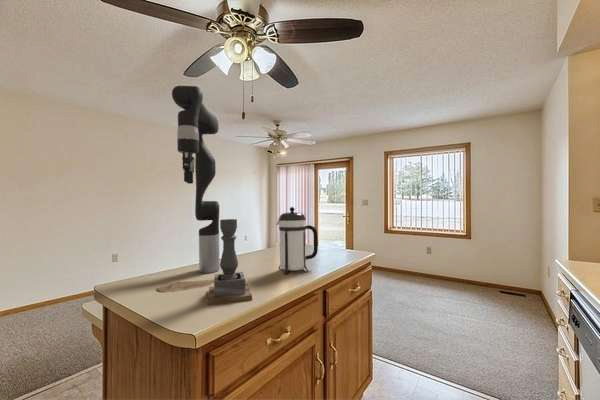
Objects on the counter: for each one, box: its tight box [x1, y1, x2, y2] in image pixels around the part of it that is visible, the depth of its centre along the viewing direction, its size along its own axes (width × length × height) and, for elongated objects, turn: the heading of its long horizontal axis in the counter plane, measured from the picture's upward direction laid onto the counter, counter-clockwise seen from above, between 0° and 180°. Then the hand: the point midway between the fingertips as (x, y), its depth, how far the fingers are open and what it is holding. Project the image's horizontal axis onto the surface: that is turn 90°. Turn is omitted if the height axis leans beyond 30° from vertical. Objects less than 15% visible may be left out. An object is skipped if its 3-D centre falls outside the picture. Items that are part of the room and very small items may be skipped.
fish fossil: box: [156, 279, 214, 293], centre depth 109 cm, size 26×10×1 cm, turn 124°
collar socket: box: [207, 271, 253, 306], centre depth 96 cm, size 14×14×6 cm
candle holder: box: [219, 218, 239, 280], centre depth 97 cm, size 6×6×25 cm
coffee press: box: [275, 206, 319, 275], centre depth 130 cm, size 17×16×30 cm
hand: (188, 182), depth 103 cm, fingers open, 8 cm apart
